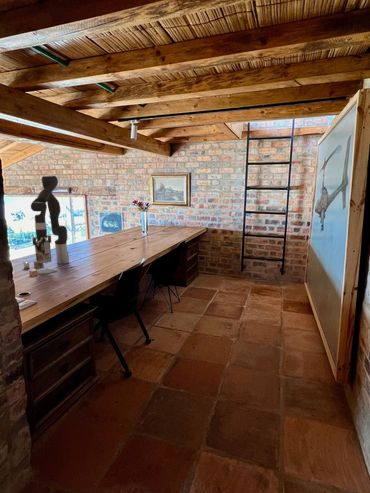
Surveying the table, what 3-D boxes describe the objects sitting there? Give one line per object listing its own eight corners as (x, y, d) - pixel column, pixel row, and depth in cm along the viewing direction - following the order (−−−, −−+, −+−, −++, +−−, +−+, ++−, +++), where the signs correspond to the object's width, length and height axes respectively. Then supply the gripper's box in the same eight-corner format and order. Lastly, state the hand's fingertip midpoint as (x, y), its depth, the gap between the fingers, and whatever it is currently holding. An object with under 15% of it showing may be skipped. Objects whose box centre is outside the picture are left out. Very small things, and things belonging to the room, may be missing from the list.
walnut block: (39, 265, 238) (39, 260, 237) (43, 266, 235) (42, 260, 234) (34, 267, 233) (33, 261, 232) (37, 268, 231) (37, 262, 230)
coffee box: (52, 261, 219) (50, 241, 216) (45, 263, 213) (44, 242, 210) (42, 260, 222) (40, 240, 219) (36, 262, 216) (34, 241, 212)
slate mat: (47, 269, 227) (47, 268, 227) (56, 271, 221) (56, 270, 221) (33, 273, 217) (33, 272, 217) (42, 275, 211) (42, 274, 211)
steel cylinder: (27, 267, 232) (27, 261, 231) (30, 268, 230) (29, 262, 229) (23, 268, 229) (22, 262, 228) (25, 269, 227) (25, 263, 226)
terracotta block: (34, 274, 215) (33, 269, 214) (37, 274, 213) (37, 269, 212) (29, 275, 211) (28, 270, 210) (32, 276, 209) (32, 271, 209)
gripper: (46, 227, 220) (48, 247, 223) (28, 229, 208) (31, 250, 211) (52, 227, 216) (54, 248, 220) (34, 229, 204) (37, 251, 208)
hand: (43, 249), depth 216 cm, fingers closed on coffee box, 7 cm apart
